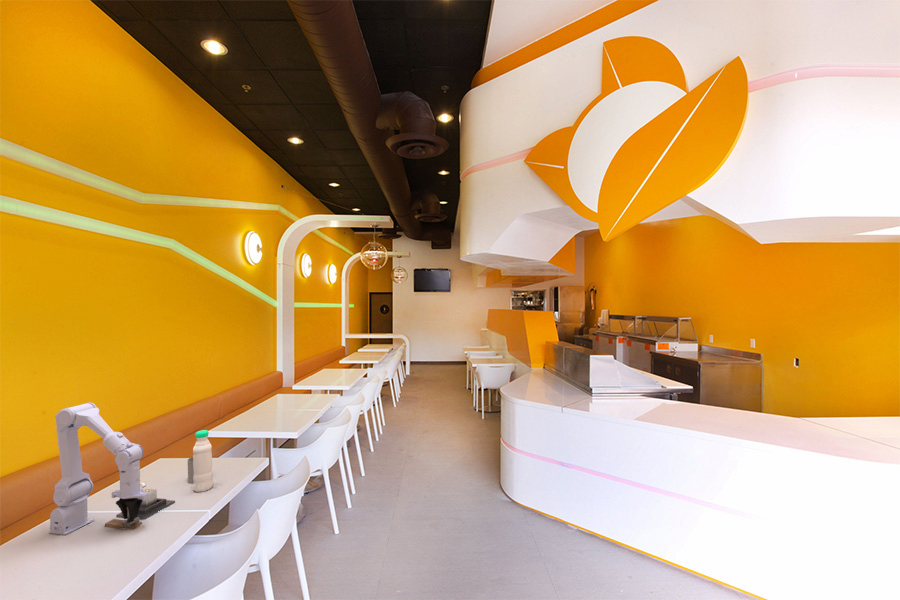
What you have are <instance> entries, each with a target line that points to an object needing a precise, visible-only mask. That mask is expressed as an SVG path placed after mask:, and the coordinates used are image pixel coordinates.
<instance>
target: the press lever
mask: <svg viewBox="0 0 900 600" xmlns="http://www.w3.org/2000/svg"><path fill="white" fill-rule="evenodd" d="M124 520H125V521H123V522H122V526H131V525H133V524H135V523H137V522H139V521H140V520H141V519H140V518H139V517H136V518H134V519H133V520H130V518H129V510H128V507H127V519H124ZM140 522H141V521H140Z"/></svg>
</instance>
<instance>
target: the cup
mask: <svg viewBox="0 0 900 600" xmlns="http://www.w3.org/2000/svg"><path fill="white" fill-rule="evenodd" d="M193 477H194V470H193V456H191V457H189V458H188V459H187V483H188V484H190V485H191V484H192V485H194V479H193Z"/></svg>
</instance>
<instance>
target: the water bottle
mask: <svg viewBox="0 0 900 600" xmlns="http://www.w3.org/2000/svg"><path fill="white" fill-rule="evenodd" d="M209 433H210V432H209V430H208V429H207V430H206V429H202V430H199V431H196V432H195V438H196V441H195V444H194V446H193V448H192V453H193V454H192V457H193V470H194V477H193V479H194V484H193V491H194V492H196V493H201V492H205V491H208V490H210V489H212V487H213V453H212V452H213V451H212V448H213V446H212V444H211V442H210V440H209V438H208V437H209V435H210V434H209Z"/></svg>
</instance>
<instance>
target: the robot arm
mask: <svg viewBox="0 0 900 600" xmlns="http://www.w3.org/2000/svg"><path fill="white" fill-rule="evenodd" d="M55 423H56V424H55V425H56V436H57V444H58V445H57V446H58V453H59V461H60V462H59V463H60V469H61V470H60V471H61V478H60V479H59V481H58V482H56V484H55V485H54V493H53V497H52V499H53V502H54V503H55V504H56V505H57V506H58V507H56V508H55V509H53V510H52V511H51V512H50V515H49V525H50V527H49V528H50V529H49V531H48V534H54V535H55V534H56V535H68V534H71V533H72V532H74V531H76V530H78V529H80V528H81V527H84V526H86V525H88V524H90V523H92V522H94V521H95V519H94V518H88V498H89V497H90V494H91V493H92V491H93V490H94V483H93V481H92V479H91V477H90V476H91V475H90V474H89V473H87V472H84V471H83V465H82V456H81V450H80V441H79V433H78V432H79V431H78V430H79V429H80V428H81V427H88V428H89V429H90V430H92V431H93V432H94V433H96V435H98V436H99V437H101V438H102V439H103V441H102V444H103V445H104V447H106V449H107V450H109V452H110V453H112V454H113V455H114V456H115V457H114V462H115V464H116V465H117V470H118V471H119V490H115V491H112V492H111V499H115V498H119V499H118V500H115V504H116V506H118V508H119V510H120V511H121V512H122V514H123V517H124V518H123V520H127V507H128V510H129V518H130V520H133V519H134V518H136V517H137V515H138V511H139V508H140V506H141V503H142V502H143V500H146V499H148V498H149V493H147V492H145V491H144V490H143V487H142V488H141V485H140V483H141V465H140V460H141V459H142V458H143V457H144V452H145V451H144V448H143V447H142V445H140V444H138V443H134V442H131V441H130V440H129V439H127V437H126V436H125V435H124V434H123V432H120V431H114V430H113V429H112V428H111V427H110V426H109V424H107V421H106V420H104V418H102V416H101V415H100V408H98V407H97V406H96V404H95V403H94V402H89V401H88V402H85V403H81V404H80V405H79V404H78V405H75V406H71V407H66V408H62V409H60V411H58V413H56V415H55ZM121 512H120V513H121Z"/></svg>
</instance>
